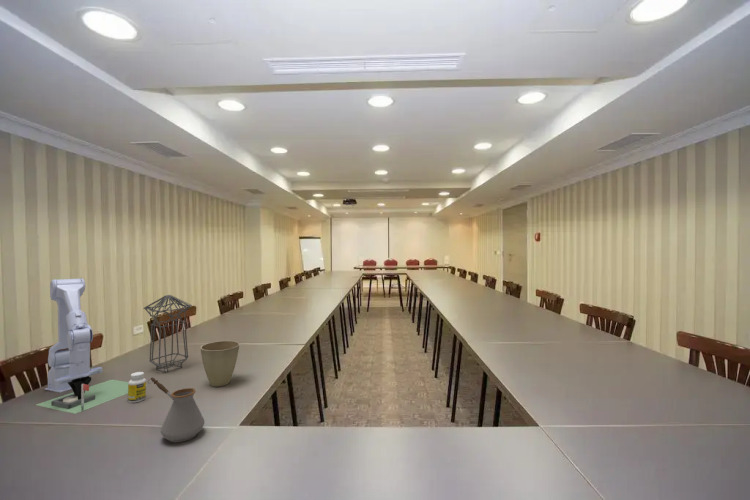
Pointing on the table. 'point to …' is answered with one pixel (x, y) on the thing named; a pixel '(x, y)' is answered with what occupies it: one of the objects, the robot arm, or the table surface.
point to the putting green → (101, 392)
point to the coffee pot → (181, 415)
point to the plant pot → (219, 361)
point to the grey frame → (80, 402)
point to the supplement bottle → (137, 387)
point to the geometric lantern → (163, 299)
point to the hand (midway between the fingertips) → (79, 398)
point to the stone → (70, 399)
